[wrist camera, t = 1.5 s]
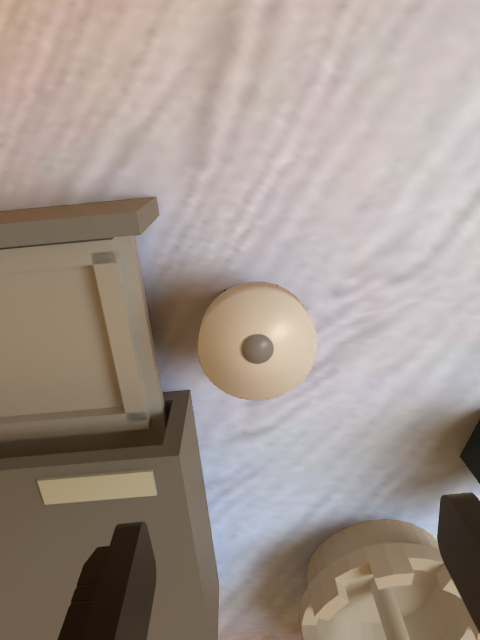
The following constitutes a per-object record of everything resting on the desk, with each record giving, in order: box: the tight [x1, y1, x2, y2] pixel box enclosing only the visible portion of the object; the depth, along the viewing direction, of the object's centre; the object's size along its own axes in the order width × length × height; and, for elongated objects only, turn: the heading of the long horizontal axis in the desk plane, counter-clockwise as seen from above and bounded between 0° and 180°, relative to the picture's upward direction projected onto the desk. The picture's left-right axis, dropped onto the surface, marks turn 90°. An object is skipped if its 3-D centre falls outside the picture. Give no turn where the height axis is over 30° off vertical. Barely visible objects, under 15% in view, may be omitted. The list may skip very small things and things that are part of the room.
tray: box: [0, 197, 168, 459], centre depth 25 cm, size 18×16×6 cm
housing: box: [0, 390, 219, 640], centre depth 29 cm, size 18×16×7 cm
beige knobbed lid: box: [198, 282, 317, 400], centre depth 23 cm, size 6×6×2 cm
